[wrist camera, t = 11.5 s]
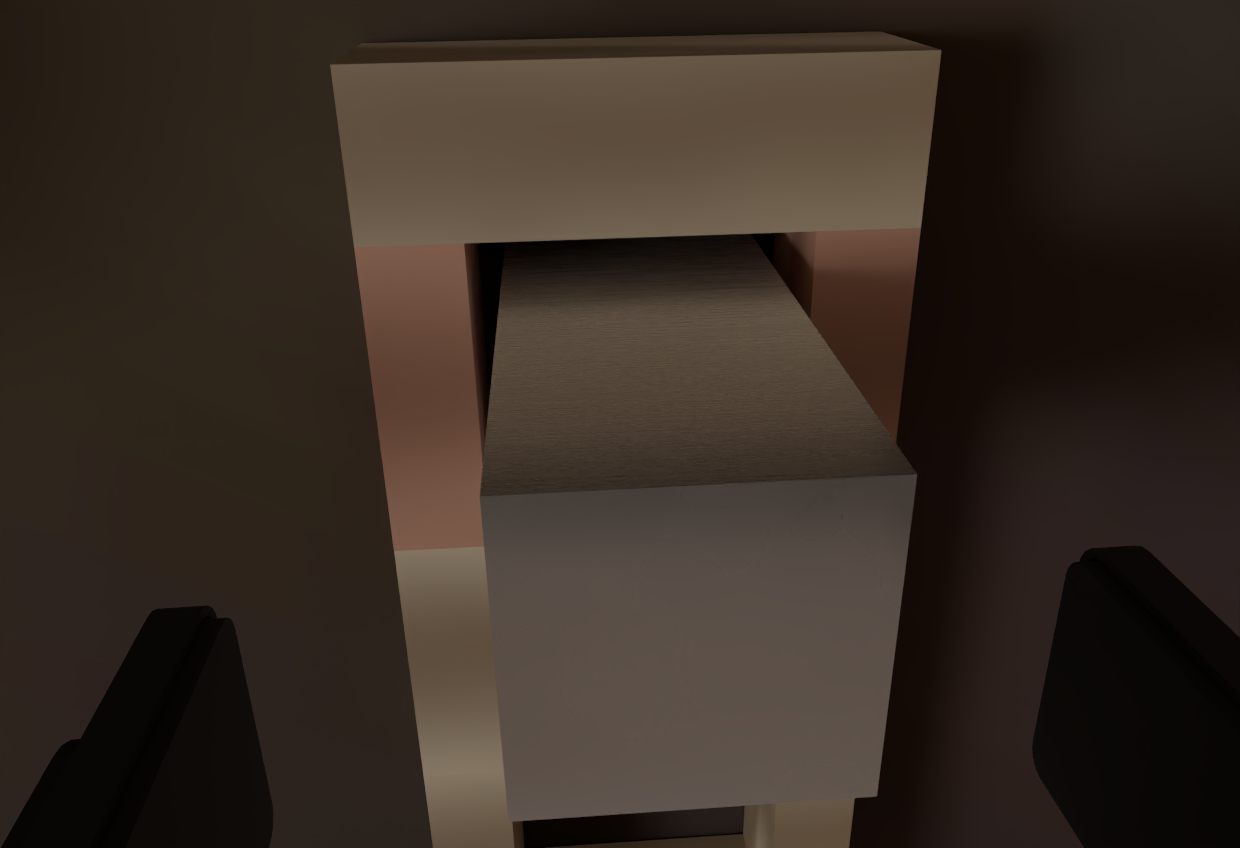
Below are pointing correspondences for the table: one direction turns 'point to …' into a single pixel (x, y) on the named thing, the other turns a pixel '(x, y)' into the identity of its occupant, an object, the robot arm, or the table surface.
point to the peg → (683, 535)
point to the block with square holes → (601, 209)
